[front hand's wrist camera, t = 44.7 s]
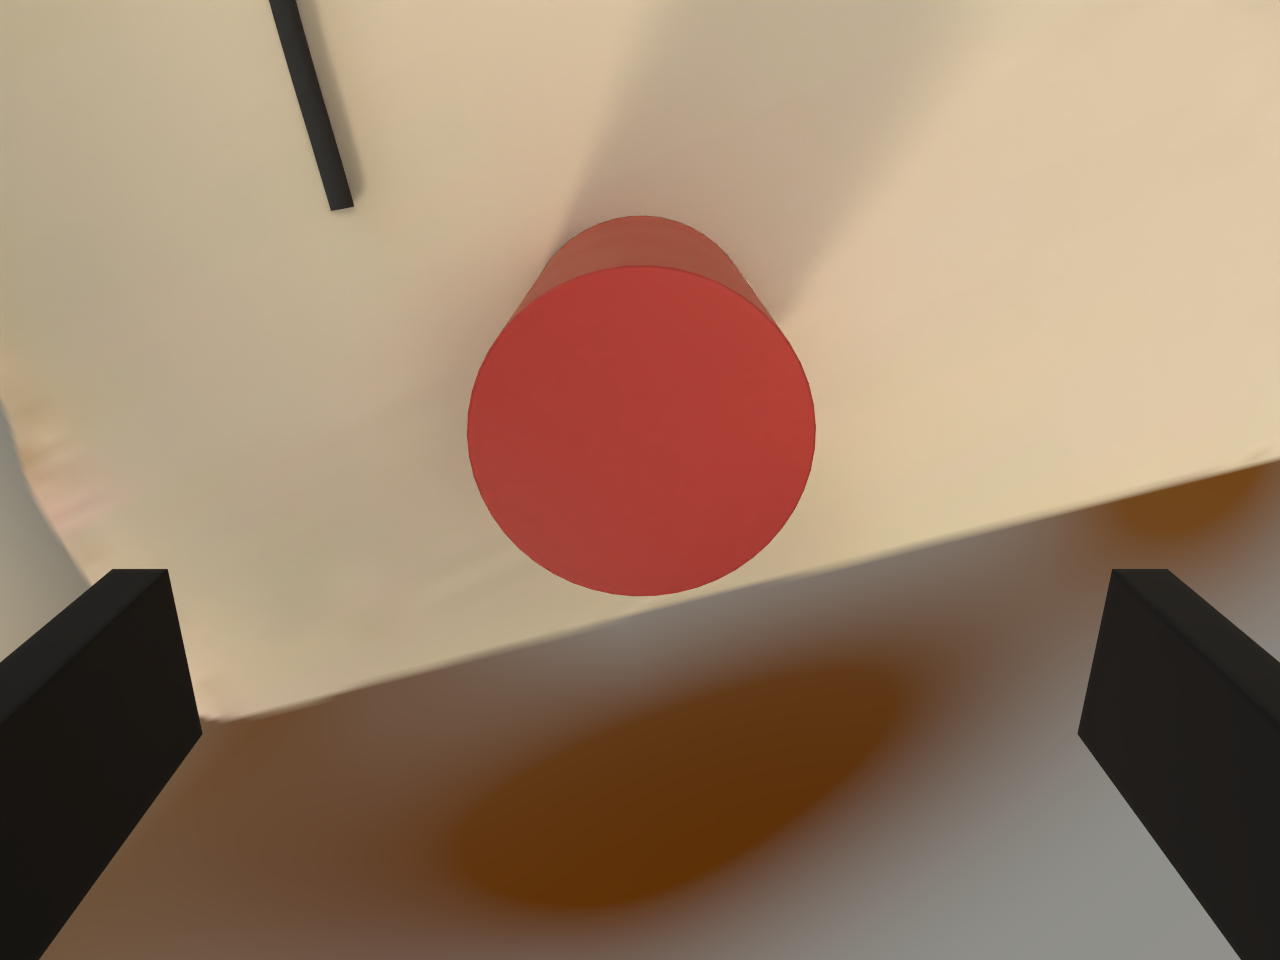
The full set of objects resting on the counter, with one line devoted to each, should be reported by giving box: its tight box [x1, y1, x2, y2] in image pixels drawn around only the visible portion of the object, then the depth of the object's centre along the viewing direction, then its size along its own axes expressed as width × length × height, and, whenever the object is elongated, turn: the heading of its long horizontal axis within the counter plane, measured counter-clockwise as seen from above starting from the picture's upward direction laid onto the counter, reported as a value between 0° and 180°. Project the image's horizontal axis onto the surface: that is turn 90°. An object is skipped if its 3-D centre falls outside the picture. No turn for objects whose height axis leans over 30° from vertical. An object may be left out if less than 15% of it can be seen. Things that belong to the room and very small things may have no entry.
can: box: [467, 216, 816, 596], centre depth 27 cm, size 8×8×12 cm
